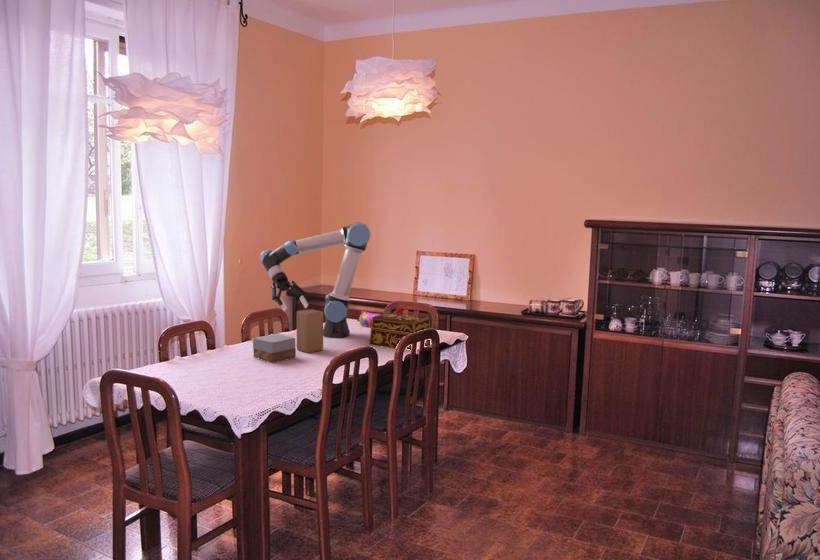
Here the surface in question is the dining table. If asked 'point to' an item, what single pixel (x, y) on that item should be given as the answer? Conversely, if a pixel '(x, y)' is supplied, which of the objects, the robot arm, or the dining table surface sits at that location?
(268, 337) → the tower top block
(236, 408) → the dining table surface
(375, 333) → the decorative box
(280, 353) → the tower base block
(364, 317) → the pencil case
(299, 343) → the wooden block
